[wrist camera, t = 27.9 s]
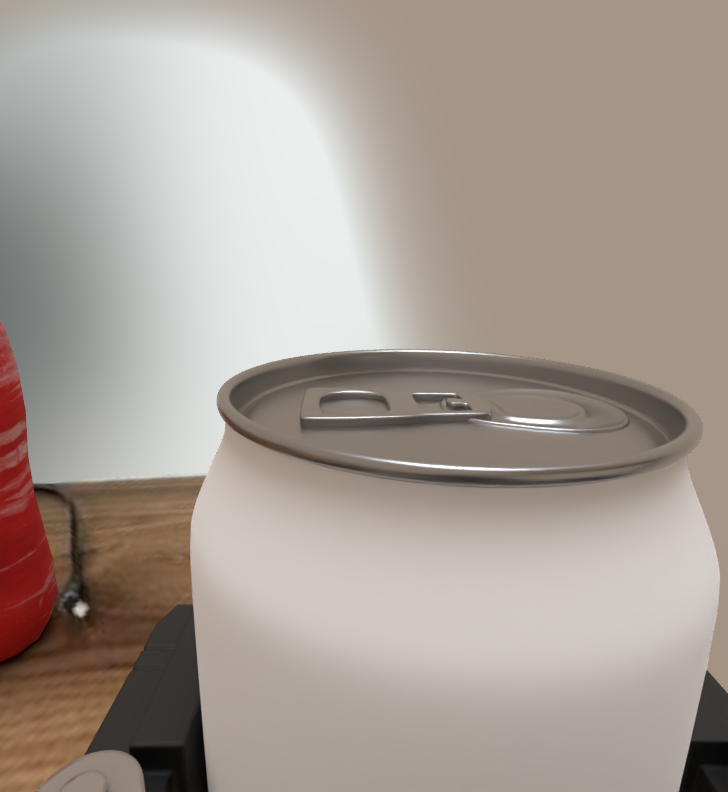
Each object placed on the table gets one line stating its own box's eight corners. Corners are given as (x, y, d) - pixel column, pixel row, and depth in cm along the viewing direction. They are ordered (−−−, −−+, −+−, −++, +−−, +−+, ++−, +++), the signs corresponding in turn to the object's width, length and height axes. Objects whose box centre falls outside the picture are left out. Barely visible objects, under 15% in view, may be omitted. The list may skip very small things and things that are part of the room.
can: (688, 1328, 6) (1013, 489, 3) (184, 1393, 6) (28, 502, 3) (511, 801, 13) (567, 346, 10) (260, 816, 12) (237, 344, 9)
